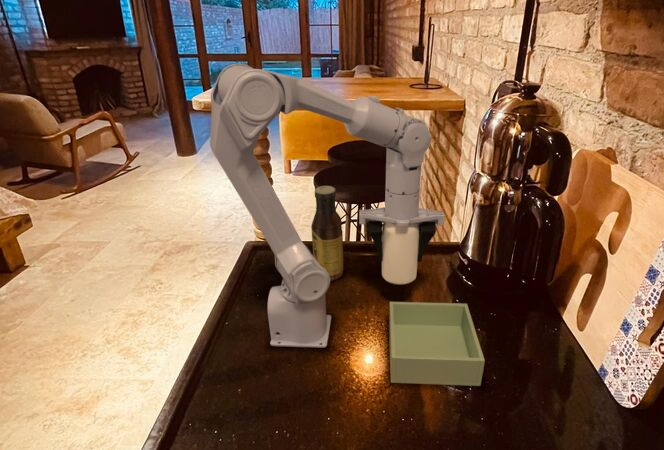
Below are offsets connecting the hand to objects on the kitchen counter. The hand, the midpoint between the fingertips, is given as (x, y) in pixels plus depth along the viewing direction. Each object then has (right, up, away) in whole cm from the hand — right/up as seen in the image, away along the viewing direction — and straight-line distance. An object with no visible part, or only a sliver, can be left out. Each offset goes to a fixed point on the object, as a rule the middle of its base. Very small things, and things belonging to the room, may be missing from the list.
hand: (399, 258), depth 74 cm
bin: (+4, -15, -8) cm, 17 cm away
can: (0, -4, +2) cm, 4 cm away
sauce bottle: (-14, -5, +13) cm, 19 cm away
